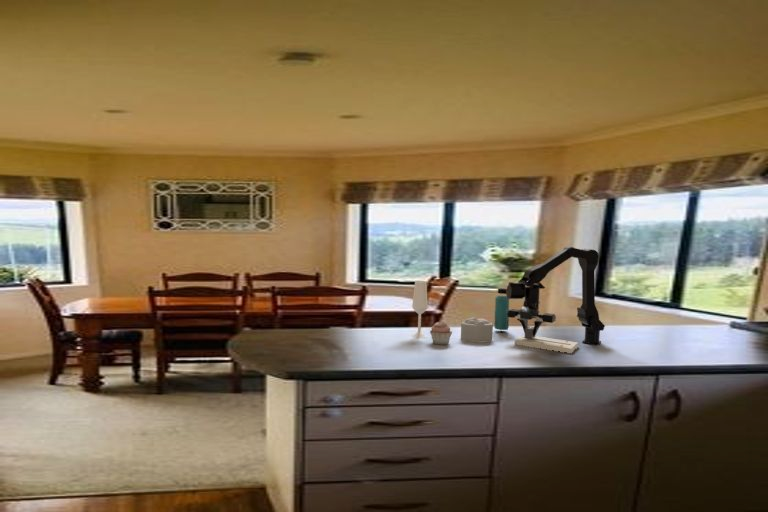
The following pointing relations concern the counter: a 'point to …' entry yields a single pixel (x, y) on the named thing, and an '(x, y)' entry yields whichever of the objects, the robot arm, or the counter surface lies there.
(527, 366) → the counter surface
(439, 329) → the cupcake
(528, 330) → the block
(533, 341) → the panel
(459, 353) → the counter surface
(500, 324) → the beverage bottle
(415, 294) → the champagne flute
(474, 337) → the lumpy-topped squat cylinder
